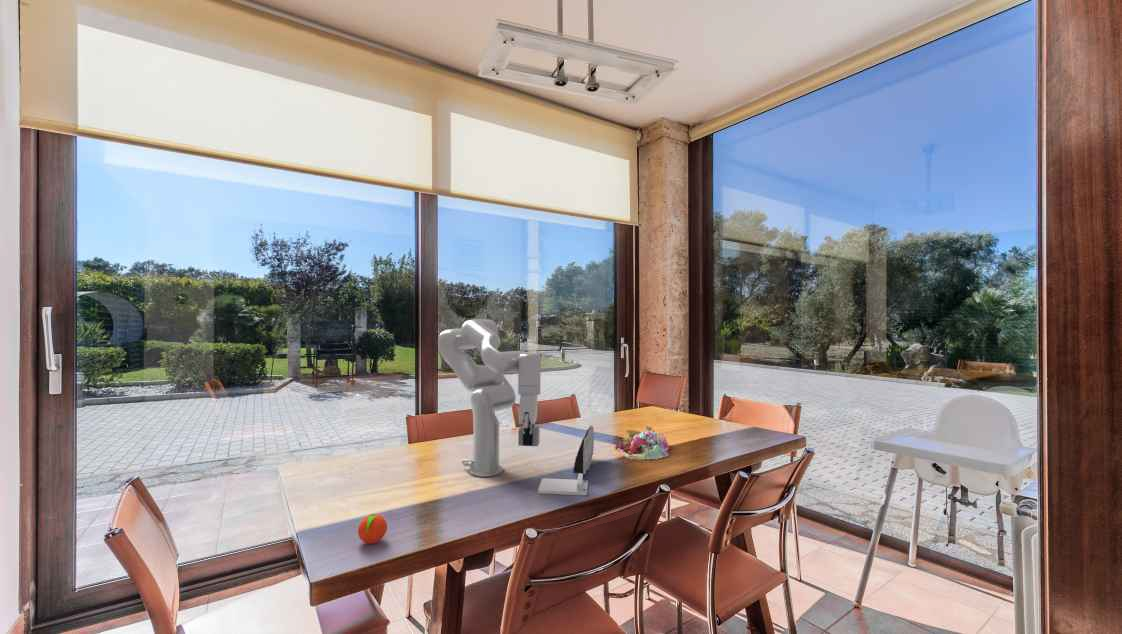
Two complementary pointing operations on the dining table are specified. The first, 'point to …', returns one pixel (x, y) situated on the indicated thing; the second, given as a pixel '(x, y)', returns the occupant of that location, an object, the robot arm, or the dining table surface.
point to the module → (534, 431)
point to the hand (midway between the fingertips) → (529, 442)
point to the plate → (564, 486)
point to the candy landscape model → (643, 445)
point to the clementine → (372, 528)
